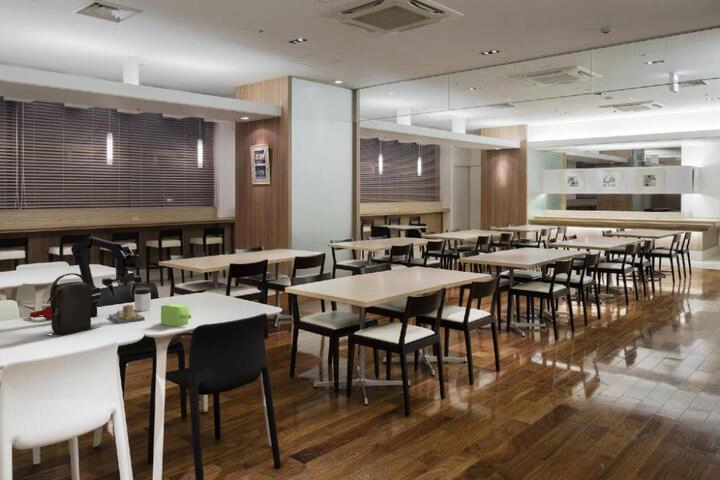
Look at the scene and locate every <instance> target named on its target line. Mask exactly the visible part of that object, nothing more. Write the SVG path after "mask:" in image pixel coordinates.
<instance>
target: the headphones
mask: <svg viewBox="0 0 720 480" xmlns="http://www.w3.org/2000/svg"><path fill="white" fill-rule="evenodd" d="M29 317H33V318H32V319H35V318H45V319H46V320H47V319H51V305H50V306H47V307H45V308H44V309H43V310H35V311H33V312H29Z"/></svg>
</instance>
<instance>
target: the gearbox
mask: <svg viewBox="0 0 720 480" xmlns="http://www.w3.org/2000/svg"><path fill="white" fill-rule="evenodd" d="M189 319H190V320H191V319H192V314H191V313H190V314H189V306H188V305H182V304H179V303H178V304H177V303H172V304H165V305H160V324H161V325H165V326H171V327H180V325H181V326H185V325H187V324H189ZM184 324H185V325H184Z"/></svg>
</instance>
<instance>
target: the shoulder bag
mask: <svg viewBox="0 0 720 480" xmlns="http://www.w3.org/2000/svg"><path fill="white" fill-rule="evenodd" d="M72 275H73V276H76V277H78V278H79V279H81V281H71V282H63V283H59V284H58V282H59V281H60V280H61V279H63V278H64V277H66V276H72ZM82 280H83V281H82ZM46 304H47V305H50V306H51V320H50V321H51V330H52V332H51V333H52V336H51V337H54V338H57V337H61V336H67V335H70V334H71V335H72V334H77V333H81V332H85V331H90V330H95V329H100V328H101V327H100V326H93V325H92V319H91V318H92V317H91V313H94V301H93V300H92V298H91V289H90V286H89V285H88V284H87V283H86V280H85V279H84V278H83V277H82V275H81V273H80V274H79V273H76V272H75V273H74V272H70V273H65V274H62V275H59V276H58V277H56V279H54V281H53V282H52V283H51V287H50V293H49V297H48V299H47V302H46ZM48 336H49V337H50V335H48Z"/></svg>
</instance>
